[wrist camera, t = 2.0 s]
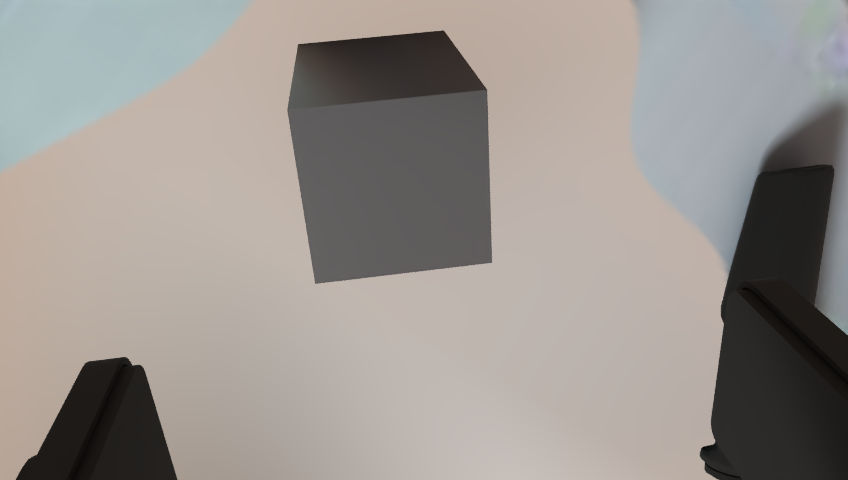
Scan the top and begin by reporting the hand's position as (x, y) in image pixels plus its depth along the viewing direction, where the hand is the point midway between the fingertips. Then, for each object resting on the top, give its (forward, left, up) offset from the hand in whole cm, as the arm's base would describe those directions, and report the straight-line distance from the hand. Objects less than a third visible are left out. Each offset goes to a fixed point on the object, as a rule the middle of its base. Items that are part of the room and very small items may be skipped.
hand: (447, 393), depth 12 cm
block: (0, 0, -14) cm, 14 cm away
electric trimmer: (+10, +14, -15) cm, 23 cm away
